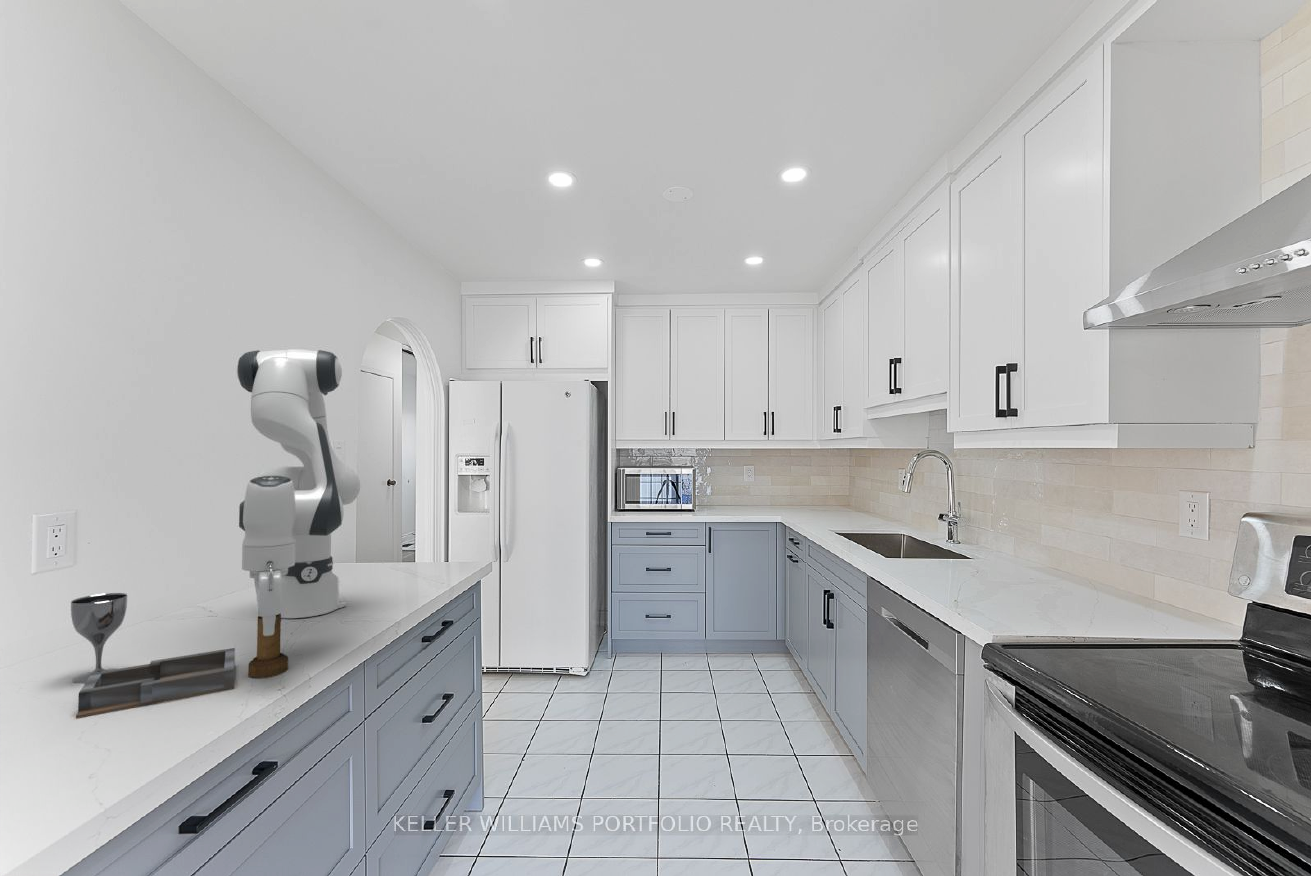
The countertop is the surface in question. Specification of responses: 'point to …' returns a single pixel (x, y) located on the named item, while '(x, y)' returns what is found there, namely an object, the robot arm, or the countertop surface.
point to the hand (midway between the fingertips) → (267, 628)
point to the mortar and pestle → (268, 653)
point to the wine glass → (98, 622)
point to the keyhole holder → (157, 682)
